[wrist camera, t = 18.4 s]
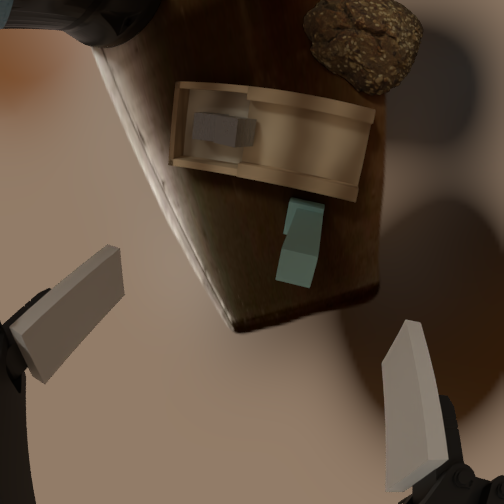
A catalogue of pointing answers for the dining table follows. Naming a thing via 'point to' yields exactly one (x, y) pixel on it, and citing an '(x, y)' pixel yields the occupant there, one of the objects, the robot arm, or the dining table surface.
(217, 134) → the chip
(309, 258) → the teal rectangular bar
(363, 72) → the bread roll
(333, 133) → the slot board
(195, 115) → the chip
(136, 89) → the dining table surface
